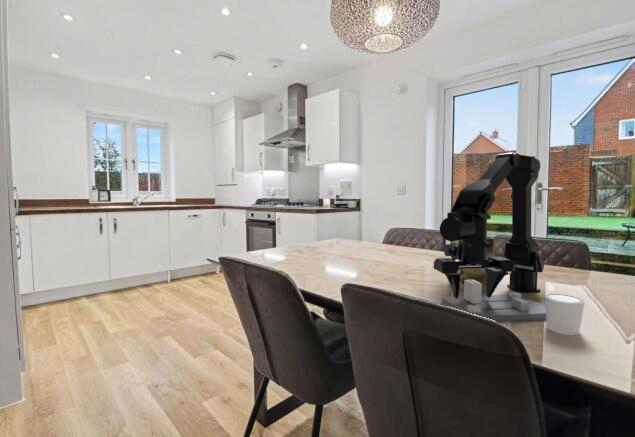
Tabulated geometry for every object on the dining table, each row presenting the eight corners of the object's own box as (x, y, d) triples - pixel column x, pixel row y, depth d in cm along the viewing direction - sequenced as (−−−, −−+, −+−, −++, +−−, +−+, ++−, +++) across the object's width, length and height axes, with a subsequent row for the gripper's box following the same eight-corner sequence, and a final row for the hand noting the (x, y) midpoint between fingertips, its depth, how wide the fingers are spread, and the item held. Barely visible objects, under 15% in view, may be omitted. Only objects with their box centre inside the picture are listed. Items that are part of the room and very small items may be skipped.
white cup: (535, 324, 74) (537, 293, 74) (564, 322, 75) (565, 292, 75) (560, 337, 68) (562, 303, 67) (591, 335, 68) (593, 302, 68)
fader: (472, 298, 87) (473, 278, 87) (481, 303, 83) (481, 283, 83) (463, 298, 87) (464, 279, 87) (472, 303, 83) (472, 283, 83)
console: (518, 299, 91) (519, 287, 91) (559, 318, 77) (560, 304, 77) (441, 302, 89) (441, 289, 89) (469, 322, 76) (469, 307, 75)
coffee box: (458, 289, 101) (460, 237, 100) (457, 284, 107) (458, 235, 106) (492, 292, 98) (494, 238, 97) (488, 286, 104) (490, 236, 103)
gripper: (490, 233, 93) (488, 287, 94) (425, 234, 91) (424, 289, 93) (516, 238, 82) (514, 300, 83) (444, 240, 80) (442, 302, 81)
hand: (472, 297), depth 85 cm, fingers open, 8 cm apart
